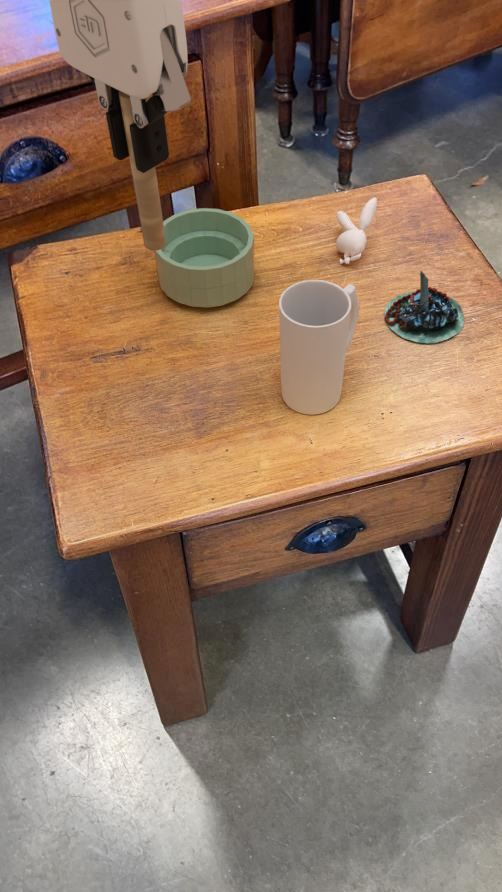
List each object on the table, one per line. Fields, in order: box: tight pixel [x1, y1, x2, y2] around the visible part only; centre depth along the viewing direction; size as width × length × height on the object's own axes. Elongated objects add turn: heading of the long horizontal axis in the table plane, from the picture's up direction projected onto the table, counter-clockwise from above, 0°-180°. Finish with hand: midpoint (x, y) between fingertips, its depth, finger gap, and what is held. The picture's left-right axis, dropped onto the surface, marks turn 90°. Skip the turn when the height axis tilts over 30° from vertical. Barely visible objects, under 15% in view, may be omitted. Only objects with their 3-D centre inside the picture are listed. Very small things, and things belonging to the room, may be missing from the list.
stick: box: [119, 91, 166, 252], centre depth 70 cm, size 2×2×14 cm
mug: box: [278, 279, 360, 416], centre depth 83 cm, size 10×7×12 cm, turn 136°
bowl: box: [153, 207, 256, 308], centre depth 95 cm, size 11×11×6 cm
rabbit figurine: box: [335, 196, 378, 266], centre depth 100 cm, size 6×4×8 cm
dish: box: [383, 270, 465, 344], centre depth 94 cm, size 8×7×8 cm
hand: (141, 157), depth 69 cm, fingers closed on stick, 2 cm apart
